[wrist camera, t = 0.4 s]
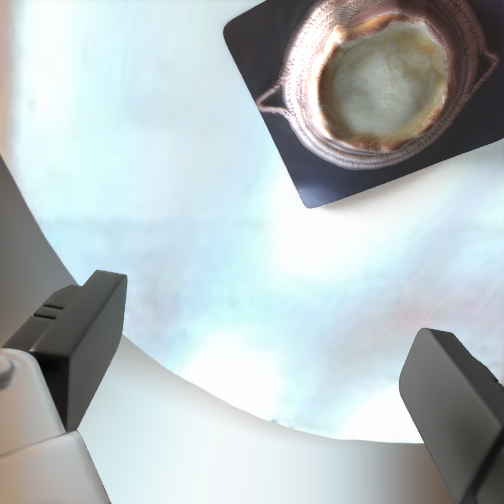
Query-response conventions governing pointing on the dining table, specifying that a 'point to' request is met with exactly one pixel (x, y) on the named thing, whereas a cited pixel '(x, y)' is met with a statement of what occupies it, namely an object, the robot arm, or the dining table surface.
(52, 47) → the dining table surface
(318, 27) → the quiche
